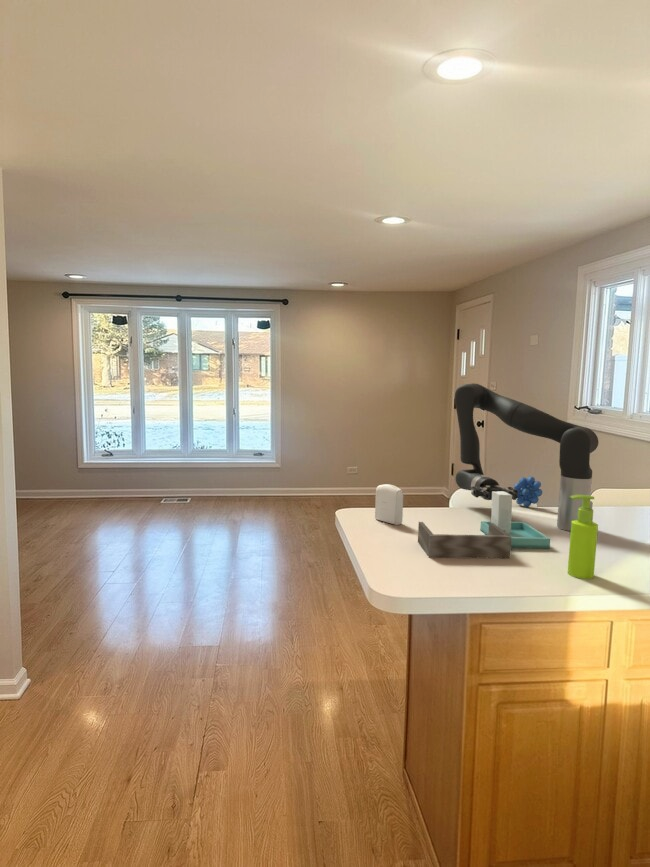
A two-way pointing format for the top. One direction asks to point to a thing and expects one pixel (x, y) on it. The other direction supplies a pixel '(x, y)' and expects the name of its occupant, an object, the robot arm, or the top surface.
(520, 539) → the tray
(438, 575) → the top surface
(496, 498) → the skincare box
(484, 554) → the bay
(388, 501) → the photo printer
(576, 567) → the soap dispenser
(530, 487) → the blue knobbly flower shape
